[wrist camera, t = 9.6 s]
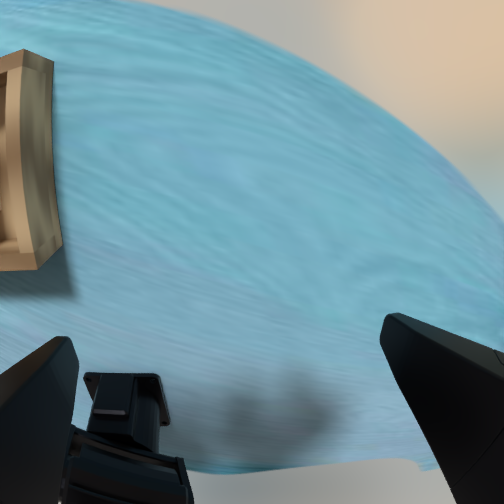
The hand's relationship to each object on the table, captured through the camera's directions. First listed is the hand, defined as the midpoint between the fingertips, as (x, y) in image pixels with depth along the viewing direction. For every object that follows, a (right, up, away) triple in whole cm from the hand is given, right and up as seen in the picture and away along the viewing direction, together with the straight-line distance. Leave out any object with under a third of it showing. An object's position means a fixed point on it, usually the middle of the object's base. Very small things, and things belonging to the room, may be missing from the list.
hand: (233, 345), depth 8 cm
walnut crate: (-19, +8, +6) cm, 21 cm away
